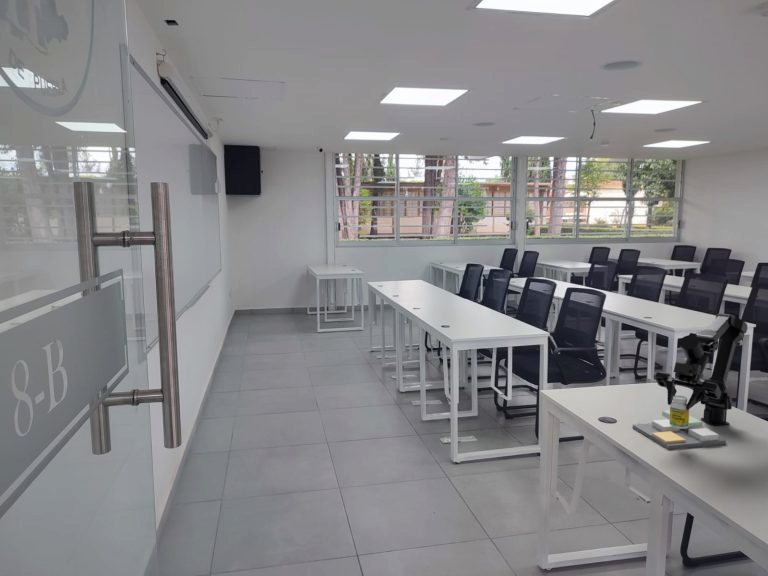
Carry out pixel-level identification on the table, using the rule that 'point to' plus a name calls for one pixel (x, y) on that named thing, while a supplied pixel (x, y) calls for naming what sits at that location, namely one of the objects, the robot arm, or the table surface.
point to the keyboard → (678, 435)
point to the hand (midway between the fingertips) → (677, 406)
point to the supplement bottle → (679, 412)
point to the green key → (692, 421)
